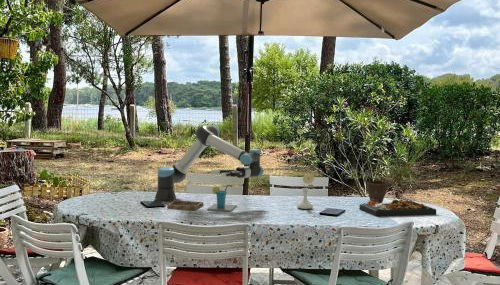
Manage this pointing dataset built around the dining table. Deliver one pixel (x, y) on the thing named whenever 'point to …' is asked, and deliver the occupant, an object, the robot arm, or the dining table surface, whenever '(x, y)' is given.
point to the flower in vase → (305, 203)
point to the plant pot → (376, 190)
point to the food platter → (396, 208)
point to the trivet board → (227, 208)
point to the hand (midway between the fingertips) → (216, 173)
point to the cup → (220, 196)
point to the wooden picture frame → (183, 203)
